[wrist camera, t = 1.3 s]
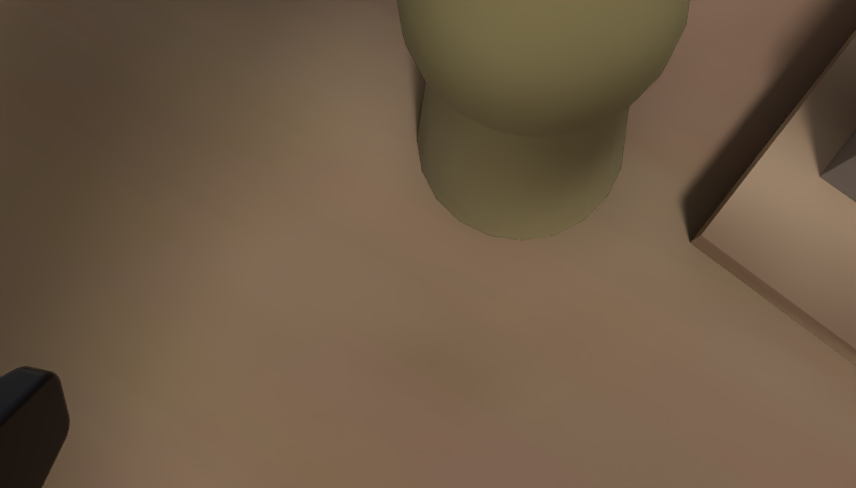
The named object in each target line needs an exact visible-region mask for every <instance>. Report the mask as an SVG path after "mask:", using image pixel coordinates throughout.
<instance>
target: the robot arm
mask: <svg viewBox="0 0 856 488" xmlns="http://www.w3.org/2000/svg"><path fill="white" fill-rule="evenodd" d="M69 422H70V419H69V413H68V409H67V405H66V401H65V397H64V393H63V389H62V385H61V381H60V379H59V377H58V376H57V375H56V374H55V373H54V372H51V371H47V370H42V369H38V368H33V367H26V366H25V367H20V368H17V369H15V370H12V371H11V372H9V373H7V374H5V375H3V376H2V377H0V488H42V486H43V484H44V482H45V480H46V478H47V476H48V474H49V472H50V470H51V468H52V466H53V464H54V462H55V460H56V458H57V455H58V453H59V451H60V449H61V447H62V445H63V443H64V441H65V439H66V436H67V433H68V430H69Z"/></svg>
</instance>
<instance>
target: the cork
mask: <svg viewBox="0 0 856 488" xmlns="http://www.w3.org/2000/svg"><path fill="white" fill-rule="evenodd" d="M689 1H690V0H397V3H398V9H399V15H400V22H401V28H402V33H403V37H404V40H405V44H406V46H407V48H408V50H409V52H410V54H411V55H412V57H413V59H414V61H415V63H416V65H417V67H418V69H419V70H420V72H421V74H422V76H423V78H424V80H425V82H426V85H425V91H424V97H423V104H422V110H421V117H420V123H419V130H418V136H417V143H418V150H419V156H420V162H421V169H422V172H423V174H424V176H425V178H426V180H427V182H428V184H429V185H430V187H431V189H432V191H433V193H434V195H435V197H436V199H437V200H438V201H439V202H440V203H441V204H442V205H443V206H444V207H445V208H446V209H448V210H449V211H450V212H451V213H452V214H453V215H454V216H455V217H456V218H457V219H458V220H459V221H460V222H462V223H464V224H466V225H468V226H470V227H473V228H475V229H477V230H479V231H481V232H483V233H485V234H487V235H489V236H496V237H502V238H509V239H516V240H527V239H533V238H539V237H545V236H551V235H555V234H557V233H559V232H561V231H563V230H565V229H567V228H569V227H571V226H573V225H575V224H577V223H579V222H581V221H583V220H584V219H585V218H586V217H587V216H588V215H589V214H590V213H591V212H592V211H593V210H594V209H595V208H596V207H597V206H598V205H599V204H600V203H601V202H602V201H603V200H604V199H605V198H606V197H607V195H608V193H609V191H610V189H611V187H612V185H613V183H614V181H615V179H616V177H617V175H618V173H619V171H620V169H621V165H622V157H623V149H624V142H625V134H626V126H627V118H628V111H629V106H630V105H631V104H632V103H633V102H634V101H635V100H636V99H637V98H638V97H639V96H640V95H641V94H642V93H643V92H644V91H645V90H646V89H647V88H648V87H649V86H650V85H651V84H652V83H653V82H654V81H655V80H656V79H657V78H658V77H659V76H660V75H661V73H662V71H663V70H664V68H665V67H666V65H667V63H668V61H669V59H670V57H671V55H672V53H673V51H674V49H675V47H676V45H677V43H678V41H679V39H680V37H681V35H682V33H683V31H684V29H685V27H686V25H687V17H688V9H689Z"/></svg>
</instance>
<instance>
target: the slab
mask: <svg viewBox="0 0 856 488" xmlns="http://www.w3.org/2000/svg"><path fill="white" fill-rule="evenodd" d="M690 243H692V244H693V245H694V246H696V247H697V248H698V249H700V250H701V251H702V252H704V253H705V254H706V255H708V256H709V257H710V258H712V259H713V260H714V261H716V262H717V263H719V264H720V265H721V266H723V267H724V268H725V269H727V270H728V271H729V272H731V273H732V274H733V275H735V276H736V277H737V278H739V279H740V280H741V281H743V282H744V283H745V284H747V285H748V286H750V287H751V288H752V289H754V290H755V291H756V292H758V293H759V294H760V295H762V296H763V297H764V298H766V299H767V300H768V301H770V302H771V303H772V304H774V305H775V306H776V307H778V308H779V309H781V310H782V311H783V312H785V313H786V314H787V315H789V316H790V317H791V318H793V319H794V320H795V321H797V322H798V323H799V324H801V325H802V326H803V327H805V328H806V329H807V330H809V331H810V332H812V333H813V334H814V335H816V336H817V337H818V338H820V339H821V340H822V341H824V342H825V343H826V344H828V345H829V346H830V347H832V348H833V349H834V350H836V351H837V352H838V353H840V354H841V355H843V356H844V357H845V358H847V359H848V360H849V361H851V362H852V363H853V364H855V365H856V29H855V31H854V32H853V33H852V34H851V36H850V37H849V38H848V40H847V41H846V42H845V43H844V45H843V46H842V47H841V49H840V50H839V51H838V52H837V54H836V55H835V56H834V58H833V59H832V60H831V61H830V63H829V64H828V65H827V67H826V68H825V69H824V70H823V72H822V73H821V74H820V76H819V77H818V78H817V79H816V81H815V82H814V83H813V85H812V86H811V87H810V89H809V90H808V91H807V92H806V94H805V95H804V96H803V98H802V99H801V100H800V101H799V103H798V104H797V105H796V107H795V108H794V109H793V110H792V112H791V113H790V114H789V116H788V117H787V118H786V119H785V121H784V122H783V123H782V125H781V126H780V127H779V128H778V130H777V131H776V132H775V134H774V135H773V136H772V137H771V139H770V140H769V141H768V143H767V144H766V145H765V146H764V148H763V149H762V150H761V152H760V153H759V154H758V155H757V157H756V158H755V159H754V161H753V162H752V163H751V164H750V166H749V167H748V168H747V170H746V171H745V172H744V173H743V175H742V176H741V177H740V179H739V180H738V181H737V182H736V184H735V185H734V186H733V188H732V189H731V190H730V191H729V193H728V194H727V195H726V197H725V198H724V199H723V200H722V202H721V203H720V204H719V206H718V207H717V208H716V209H715V211H714V212H713V213H712V215H711V216H710V217H709V219H708V220H707V221H706V222H705V224H704V225H703V226H702V228H701V229H700V230H699V231H698V233H697V234H696V235H695V237H694V238H693V239H692V240H691V242H690Z"/></svg>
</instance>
